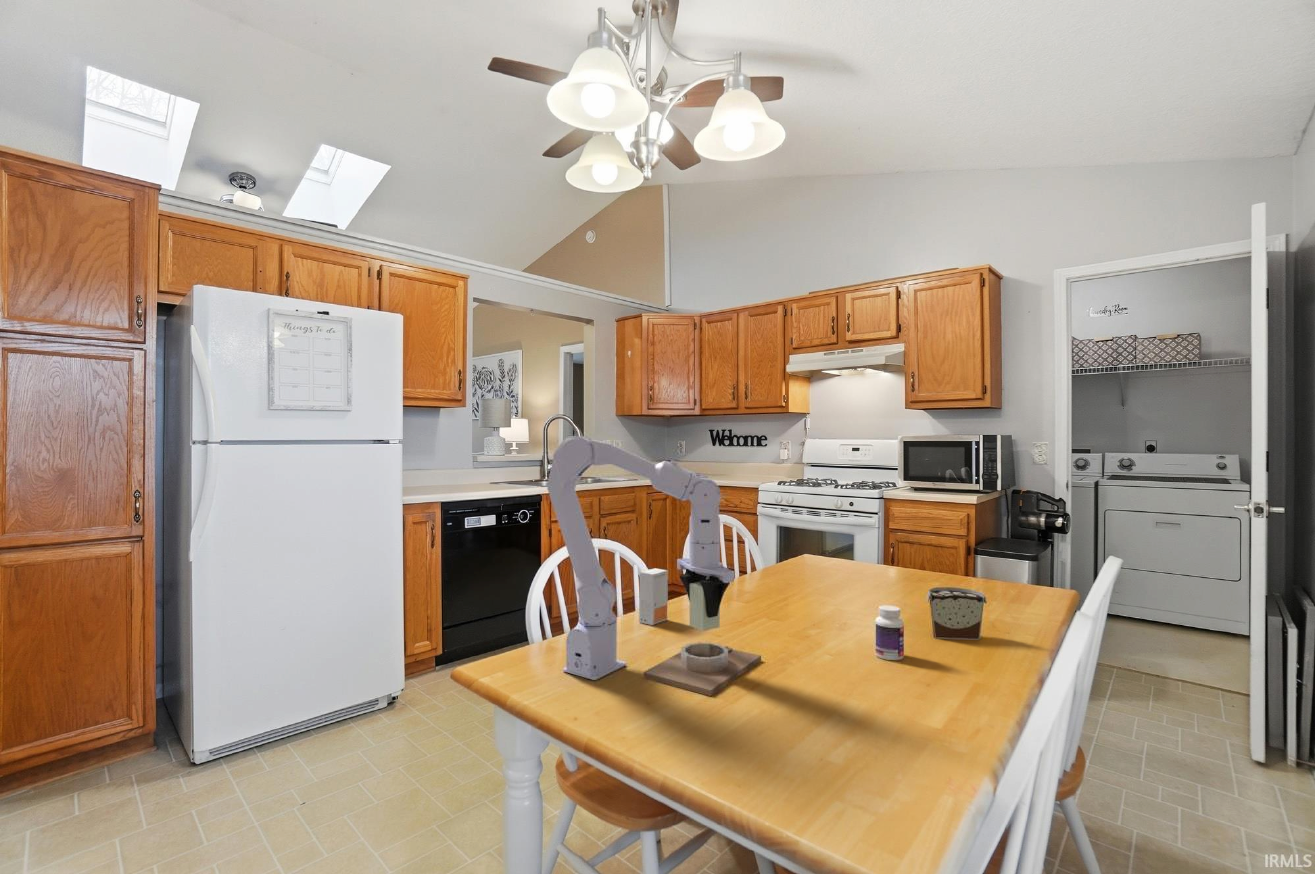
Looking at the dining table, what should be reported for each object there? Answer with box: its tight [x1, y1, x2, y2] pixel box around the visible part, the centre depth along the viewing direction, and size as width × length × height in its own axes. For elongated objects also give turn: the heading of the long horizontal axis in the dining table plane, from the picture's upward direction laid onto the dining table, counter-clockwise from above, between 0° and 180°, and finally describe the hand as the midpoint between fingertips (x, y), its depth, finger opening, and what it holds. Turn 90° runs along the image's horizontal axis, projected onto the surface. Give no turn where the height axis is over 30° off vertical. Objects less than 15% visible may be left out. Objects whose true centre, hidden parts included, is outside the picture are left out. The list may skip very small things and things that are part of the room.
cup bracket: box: [642, 641, 762, 697], centre depth 115 cm, size 20×14×4 cm
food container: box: [926, 586, 987, 641], centre depth 135 cm, size 12×6×10 cm, turn 84°
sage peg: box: [689, 582, 721, 632], centre depth 115 cm, size 4×4×8 cm
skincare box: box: [638, 567, 669, 626], centre depth 145 cm, size 6×4×12 cm
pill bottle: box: [874, 604, 905, 661], centre depth 122 cm, size 5×5×10 cm
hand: (704, 613), depth 115 cm, fingers closed on sage peg, 4 cm apart
